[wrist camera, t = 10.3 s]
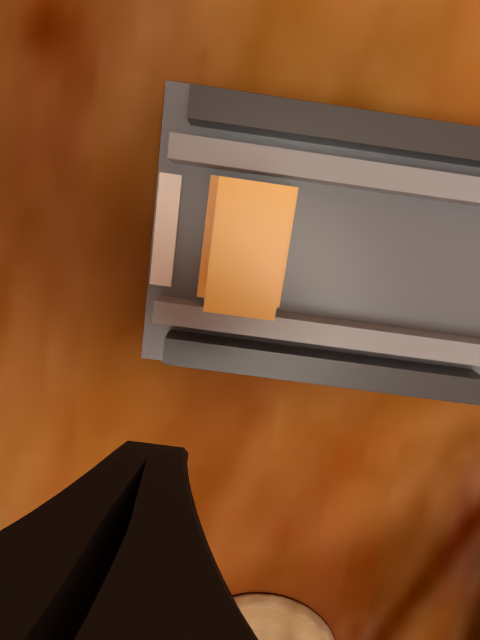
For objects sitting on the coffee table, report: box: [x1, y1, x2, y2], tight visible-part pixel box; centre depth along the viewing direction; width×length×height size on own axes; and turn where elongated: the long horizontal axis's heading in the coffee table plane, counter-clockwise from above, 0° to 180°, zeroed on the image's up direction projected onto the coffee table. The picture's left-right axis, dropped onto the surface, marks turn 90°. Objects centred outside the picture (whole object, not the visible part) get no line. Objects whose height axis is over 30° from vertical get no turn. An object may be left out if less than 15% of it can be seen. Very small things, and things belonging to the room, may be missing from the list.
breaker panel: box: [141, 80, 480, 405], centre depth 16 cm, size 14×10×3 cm
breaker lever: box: [197, 175, 299, 321], centre depth 14 cm, size 3×4×4 cm
